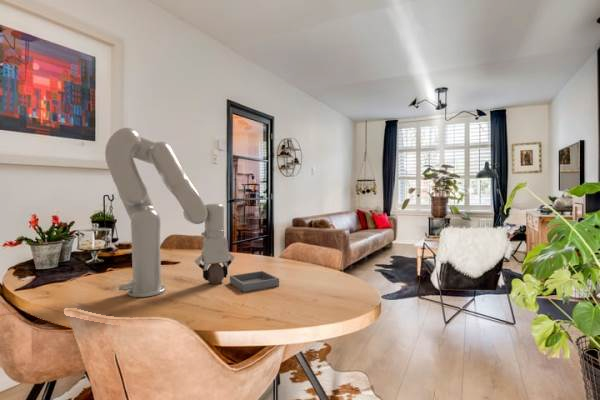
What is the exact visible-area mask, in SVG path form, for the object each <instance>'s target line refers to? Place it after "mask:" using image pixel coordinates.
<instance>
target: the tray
mask: <svg viewBox="0 0 600 400" xmlns="http://www.w3.org/2000/svg"><path fill="white" fill-rule="evenodd" d="M230 283H231V284H230ZM229 284H230V285H232V286H233V285H234V286H233V287H234V288H236V287H237V288H236V289H238V290H239V289H240V292H242V291H243V292H242V293H248V292H247V291H250V292H254V291H253V290H255V291H260V290H259V289H261V290H265V289H264V288H266V289H271V288H270V287H272V288H275V287H276V286H277V287H279V286H280V278H279V277H276V276H274V275H273V274H271V273H270V272H269V273H268V272H266V271H264V270H260V271H253V272H245V273H238V274H234V275H229ZM277 287H276V288H277Z"/></svg>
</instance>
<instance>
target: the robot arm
mask: <svg viewBox="0 0 600 400" xmlns="http://www.w3.org/2000/svg"><path fill="white" fill-rule="evenodd" d="M105 145H106V146H105V151H104V154H105V162H106V164H107V168H108V170H109V173H110V175H111V177H112V180H113V182H114V184H115V187H116V189H117V192H118V196H119V199H120V200H121V202H122V204H123V206H124V208H125V211H126V213H127V216H128V217H129V219H130V227H131V228H130V231H131V234H130V235H131V236H130V237H131V261H132V262H131V263H132V267H131V268H132V279H131V281H130V282H128V283H126V284H123V283H122V284H118V291H122V292H124V291H128V296H130V297H132V298H133V297H134V298H146V297H147V298H148V297H154V296H157V295H160V294H163V293H164V292H165V291H166V290H167V288H166V285H164V284H162V264H161V263H162V259H161V256H162V255H161V217H160V214H159V212H158V211H157V210H156V209H155V207H154V203H153V202H152V200H151V198H150V195H149V193H148V188H147V186H146V184H145V183H144V181H143V179H142V177H141V175H140V173H139V170H138V168H137V165H136V163H135V160H134V159H137V160H139V161H142V162H145V163H148V164H151V165H153V166H154V167H155V169H156V171H157V173H158V175H159V176H160V178H161V180H162V181H163V184H164V185H165V187H166V188H167V189H168V191H169V192H170V193H171V194H172V195H173V196H174V198H175V199H176V200H177V201H178V203H179V205H180V206H181V208H182V209H183V218H184V219H185V220H186V221H187V222H189V223H191V224H193V225H201V224H203V223H204V231H203V232H201V234H200V235H201V237H204V238H203V240H202V246H201V254H200V255H199V256H198V257H197V258H196V259H195V260H194V263H195V264H196V265H197V266H198V267H199V268H201V270H202V278H203V279H204V280H205V281H208V268H209V266H210V265H211V264H215V263H219V264H222V267H223V270H224V278H227V277H228V273H229V272H228V269H229V266H230V264H232V263H233V261H234V259H235V256H234V255H233V254H232V253H230V251H229V242H228V238H227V237H226V236H225V207H224V205H223V204H221V203H209V204H208V203H207V204H205V203H204V201H203V200H202V198H201V196H200V194H199V193H198V191H197V190H196V188H195V187H194V185H193V183H192V182H191V180H190V178H189V176H188V175H187V174H186V172H185V170H184V169H183V167H182V165H181V163H180V161H179V159H178V157H177V156H176V154H175V152H174V150H173V148H172V147H171V146H170V145H169V144H168V143H167V142H164V141H155V142H154V141H151V140H149V139H147V138H145V137H141V135H140V134H139V132H138V131H136V130H135V129H133V128H130V127H122V128H119V129H118V130H116V131H114V133H113V134H112V135H111V136H110V138H108V141H107V143H106V144H105ZM201 261H202V262H201ZM202 263H203V264H202Z"/></svg>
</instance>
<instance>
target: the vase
mask: <svg viewBox="0 0 600 400" xmlns="http://www.w3.org/2000/svg"><path fill="white" fill-rule="evenodd" d="M207 270H208V280H207V281H208V283H209V284H211V285H219V284H221V283H222V282H223V281H224V278H225V277H224V270H223V265H221V263H215V264H209V265H208V268H207Z"/></svg>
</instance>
